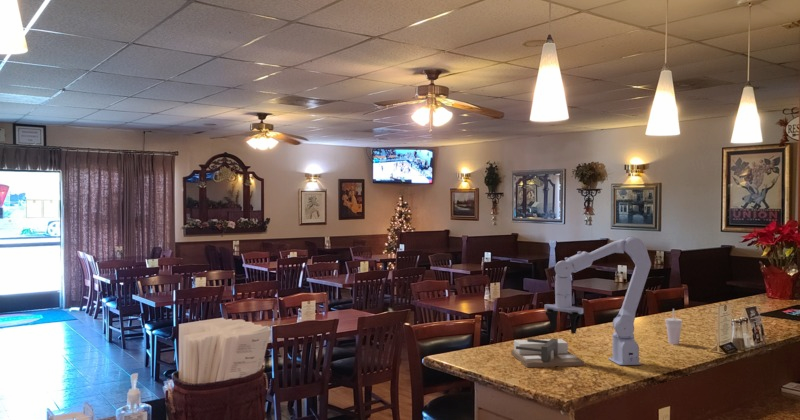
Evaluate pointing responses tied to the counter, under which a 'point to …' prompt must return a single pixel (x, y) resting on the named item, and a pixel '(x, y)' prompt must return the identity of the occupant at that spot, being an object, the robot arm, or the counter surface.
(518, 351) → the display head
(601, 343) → the counter surface
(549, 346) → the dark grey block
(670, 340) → the smoothie
